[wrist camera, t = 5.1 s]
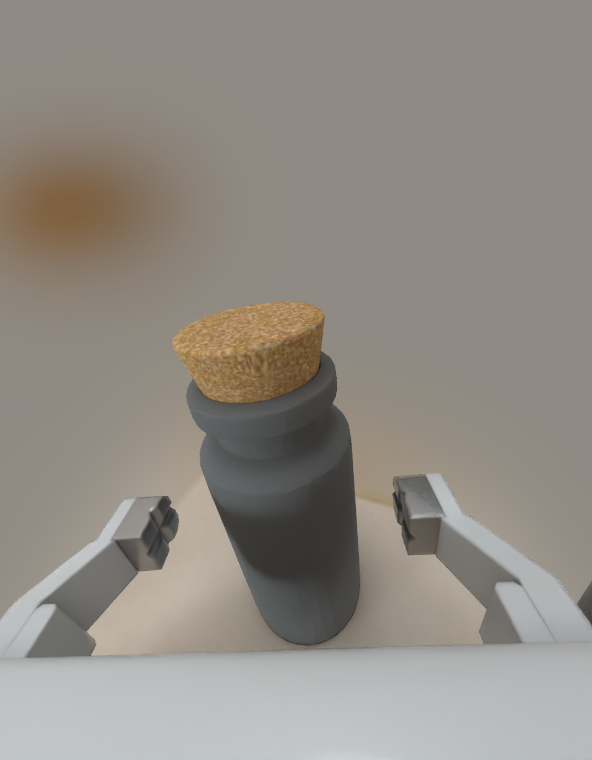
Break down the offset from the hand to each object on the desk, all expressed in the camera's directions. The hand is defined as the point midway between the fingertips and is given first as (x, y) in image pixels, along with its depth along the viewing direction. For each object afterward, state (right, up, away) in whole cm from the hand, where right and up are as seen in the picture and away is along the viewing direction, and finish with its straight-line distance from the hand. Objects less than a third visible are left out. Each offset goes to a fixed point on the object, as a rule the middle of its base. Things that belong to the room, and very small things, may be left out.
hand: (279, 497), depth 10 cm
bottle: (+1, -7, +6) cm, 9 cm away
